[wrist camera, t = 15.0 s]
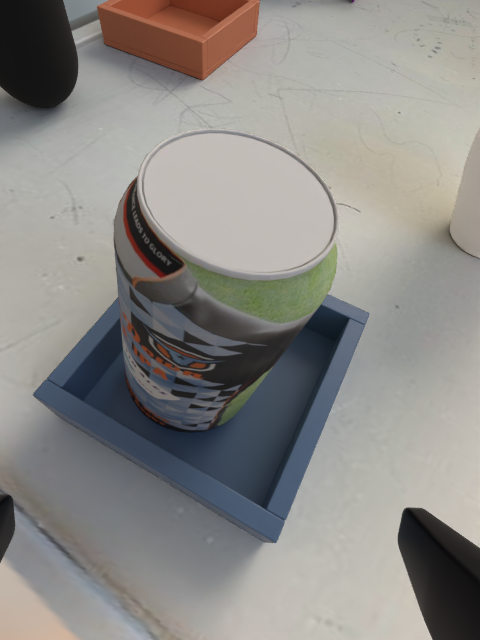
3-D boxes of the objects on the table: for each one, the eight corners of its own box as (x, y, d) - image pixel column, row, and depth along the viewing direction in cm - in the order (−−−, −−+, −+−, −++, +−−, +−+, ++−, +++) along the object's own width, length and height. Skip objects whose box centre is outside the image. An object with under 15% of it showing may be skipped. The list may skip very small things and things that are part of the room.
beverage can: (127, 334, 20) (37, 106, 9) (261, 314, 21) (313, 94, 10) (136, 456, 16) (17, 319, 6) (293, 424, 18) (410, 265, 7)
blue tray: (265, 543, 16) (276, 543, 13) (57, 415, 18) (31, 394, 15) (350, 340, 21) (370, 312, 18) (183, 261, 23) (180, 226, 20)
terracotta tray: (202, 80, 34) (202, 42, 31) (104, 44, 36) (96, 6, 33) (256, 35, 39) (260, 0, 37) (168, 6, 41) (165, -29, 39)
